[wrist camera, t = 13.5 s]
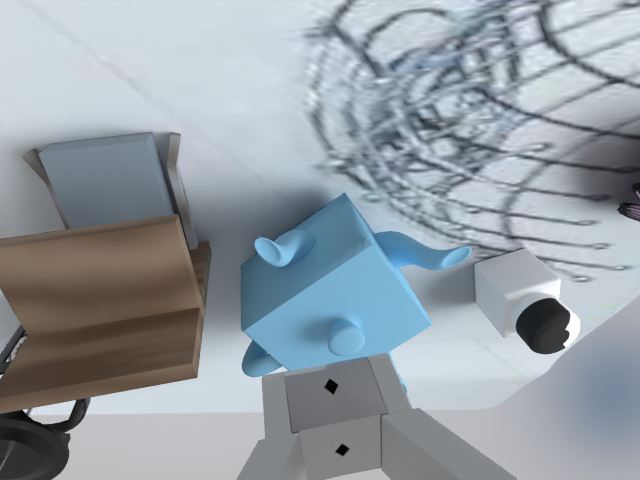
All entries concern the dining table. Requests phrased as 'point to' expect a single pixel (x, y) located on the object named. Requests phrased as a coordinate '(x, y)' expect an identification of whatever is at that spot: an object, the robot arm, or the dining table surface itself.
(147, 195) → the shell
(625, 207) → the decorative flower
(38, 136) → the dining table surface
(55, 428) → the french press
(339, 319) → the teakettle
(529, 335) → the medicine bottle
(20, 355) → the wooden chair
